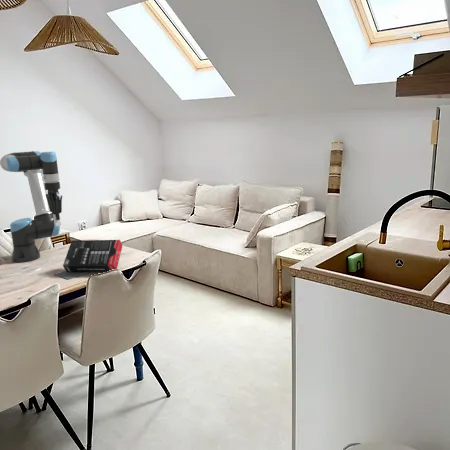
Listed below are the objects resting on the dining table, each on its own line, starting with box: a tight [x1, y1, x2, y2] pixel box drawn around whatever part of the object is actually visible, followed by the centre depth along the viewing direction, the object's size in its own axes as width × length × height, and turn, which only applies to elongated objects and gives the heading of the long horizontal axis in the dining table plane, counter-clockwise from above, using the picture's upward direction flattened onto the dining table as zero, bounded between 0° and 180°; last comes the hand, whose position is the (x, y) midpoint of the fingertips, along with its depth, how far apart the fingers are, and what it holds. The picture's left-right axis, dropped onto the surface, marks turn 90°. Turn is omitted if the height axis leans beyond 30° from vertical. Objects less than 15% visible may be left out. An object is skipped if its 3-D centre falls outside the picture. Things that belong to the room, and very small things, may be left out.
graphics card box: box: [62, 239, 123, 273], centre depth 223 cm, size 17×7×27 cm
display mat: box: [54, 270, 91, 281], centre depth 223 cm, size 13×21×1 cm, turn 141°
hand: (57, 225), depth 227 cm, fingers closed
